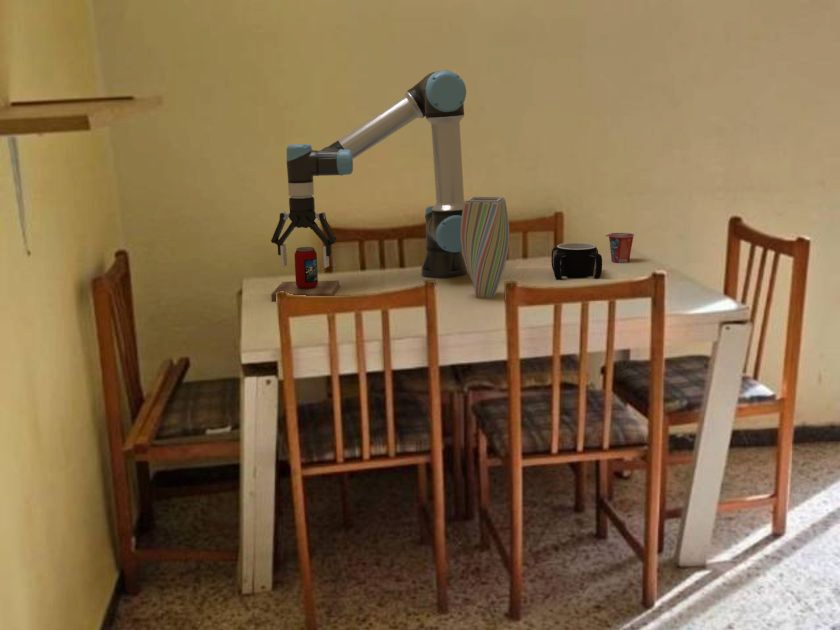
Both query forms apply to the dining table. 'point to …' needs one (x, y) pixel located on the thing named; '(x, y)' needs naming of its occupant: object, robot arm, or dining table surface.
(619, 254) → the cup
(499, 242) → the vase
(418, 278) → the dining table surface
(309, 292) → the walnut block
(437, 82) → the robot arm
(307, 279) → the beverage can
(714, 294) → the dining table surface
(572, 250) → the black round container
